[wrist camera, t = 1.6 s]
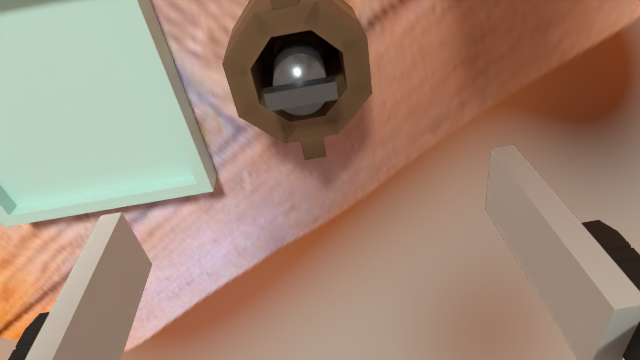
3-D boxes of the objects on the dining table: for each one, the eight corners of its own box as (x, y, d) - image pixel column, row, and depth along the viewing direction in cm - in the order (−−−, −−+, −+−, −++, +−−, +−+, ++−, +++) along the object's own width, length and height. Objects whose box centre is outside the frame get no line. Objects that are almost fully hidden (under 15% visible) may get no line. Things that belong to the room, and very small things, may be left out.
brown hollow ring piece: (214, -34, 25) (199, -11, 21) (345, -59, 25) (360, -42, 20) (258, 123, 32) (254, 168, 27) (362, 105, 32) (376, 147, 27)
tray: (-150, -4, 25) (-182, 6, 23) (128, -57, 24) (116, -52, 23) (18, 209, 35) (4, 227, 33) (216, 174, 35) (213, 191, 33)
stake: (264, 26, 28) (258, 76, 21) (320, 15, 28) (333, 63, 21) (274, 69, 30) (272, 127, 23) (327, 59, 29) (340, 115, 23)
